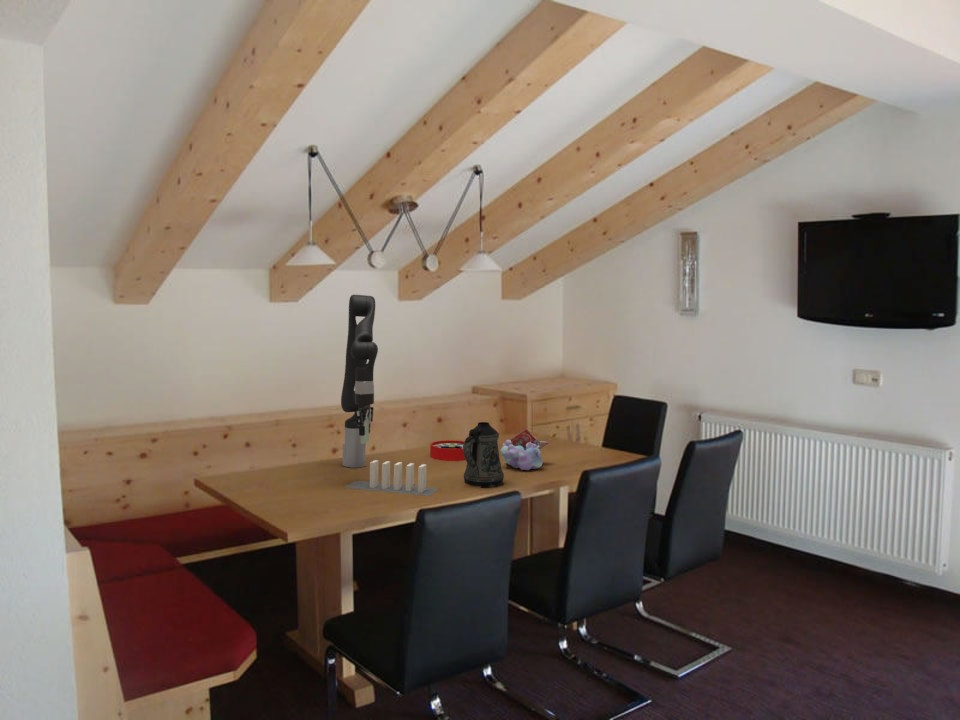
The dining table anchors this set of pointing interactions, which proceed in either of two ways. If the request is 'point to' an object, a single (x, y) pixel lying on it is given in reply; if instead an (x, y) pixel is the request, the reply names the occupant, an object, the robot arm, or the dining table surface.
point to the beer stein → (482, 457)
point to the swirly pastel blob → (523, 451)
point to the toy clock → (447, 450)
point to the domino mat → (390, 488)
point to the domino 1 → (366, 437)
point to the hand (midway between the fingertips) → (364, 434)
